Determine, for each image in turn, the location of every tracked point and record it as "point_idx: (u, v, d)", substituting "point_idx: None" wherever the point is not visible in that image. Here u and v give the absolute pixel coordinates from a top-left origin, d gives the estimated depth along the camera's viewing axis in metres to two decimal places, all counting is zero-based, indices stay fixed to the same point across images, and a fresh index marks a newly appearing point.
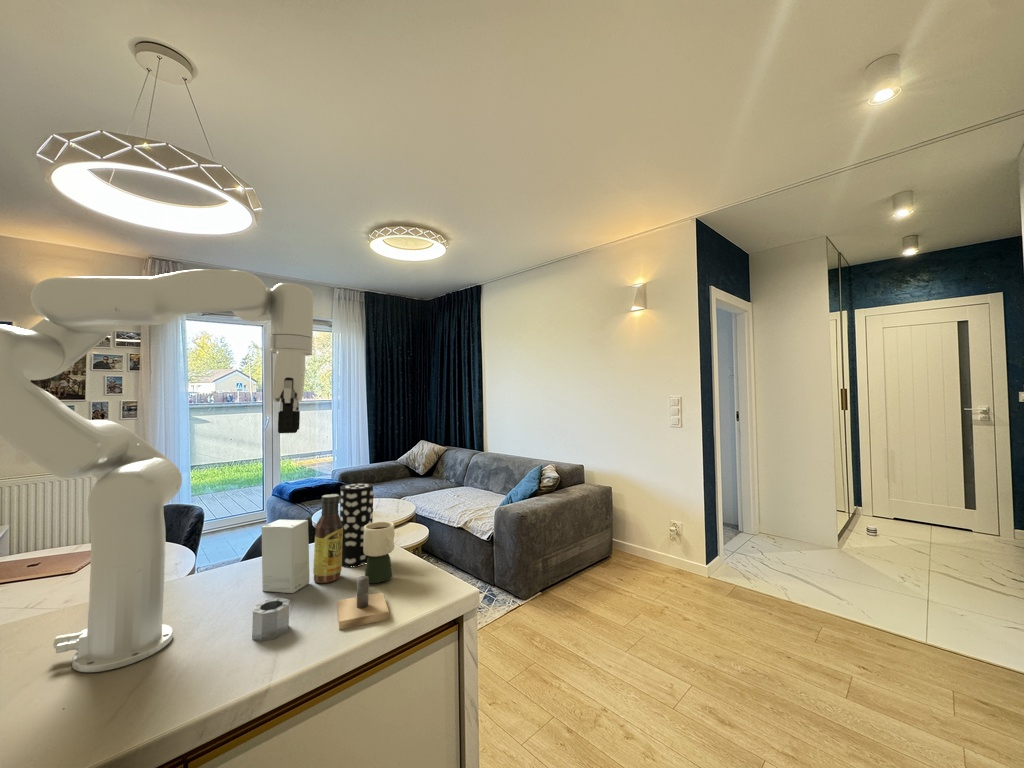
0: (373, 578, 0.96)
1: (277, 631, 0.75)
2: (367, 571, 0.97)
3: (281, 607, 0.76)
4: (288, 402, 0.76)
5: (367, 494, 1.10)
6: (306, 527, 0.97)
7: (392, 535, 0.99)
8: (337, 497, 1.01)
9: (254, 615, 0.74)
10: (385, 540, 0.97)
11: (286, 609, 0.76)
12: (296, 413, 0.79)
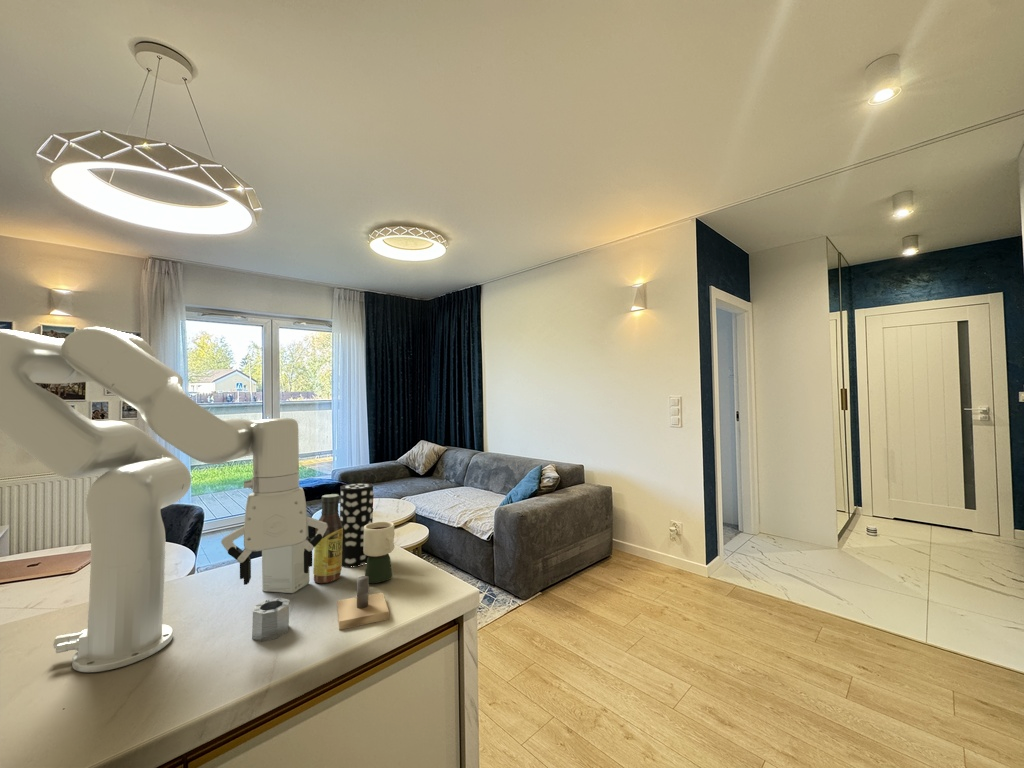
0: (373, 578, 0.96)
1: (277, 631, 0.75)
2: (367, 571, 0.97)
3: (281, 607, 0.76)
4: None
5: (367, 494, 1.10)
6: None
7: (392, 535, 0.99)
8: (337, 497, 1.01)
9: (254, 615, 0.74)
10: (385, 540, 0.97)
11: (286, 609, 0.76)
12: None
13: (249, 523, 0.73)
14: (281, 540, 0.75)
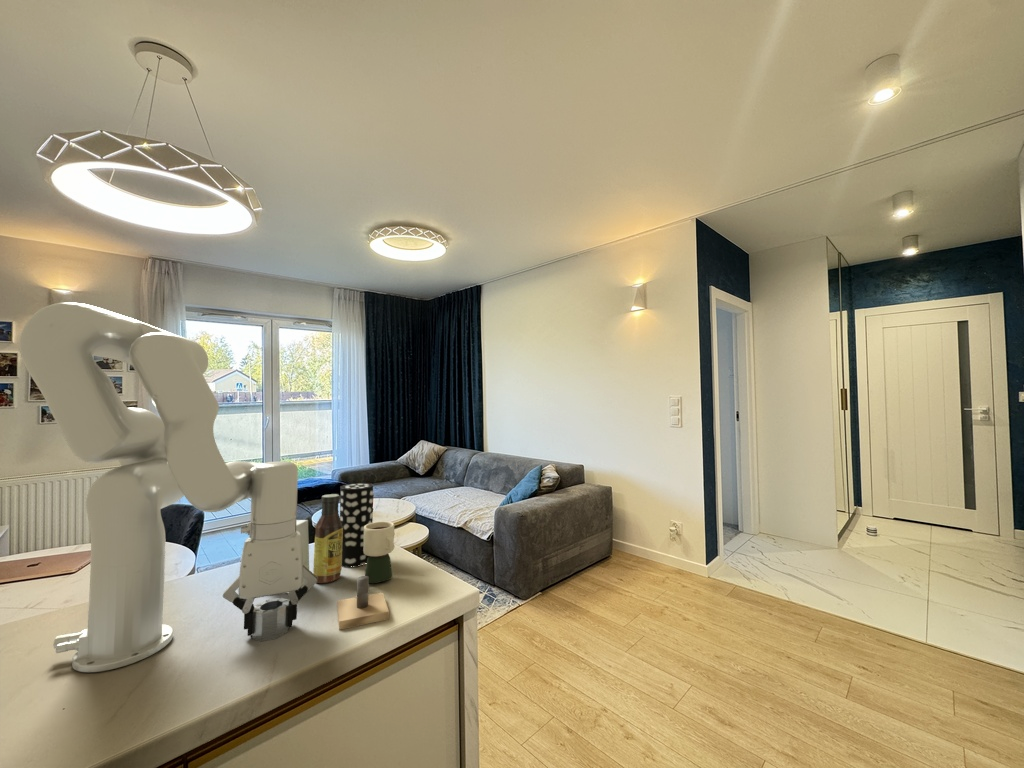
0: (373, 578, 0.96)
1: (277, 631, 0.75)
2: (367, 571, 0.97)
3: (281, 607, 0.76)
4: None
5: (367, 494, 1.10)
6: (306, 527, 0.97)
7: (392, 535, 0.99)
8: (337, 497, 1.01)
9: (254, 615, 0.74)
10: (385, 540, 0.97)
11: (286, 609, 0.76)
12: None
13: (244, 570, 0.73)
14: (276, 587, 0.75)
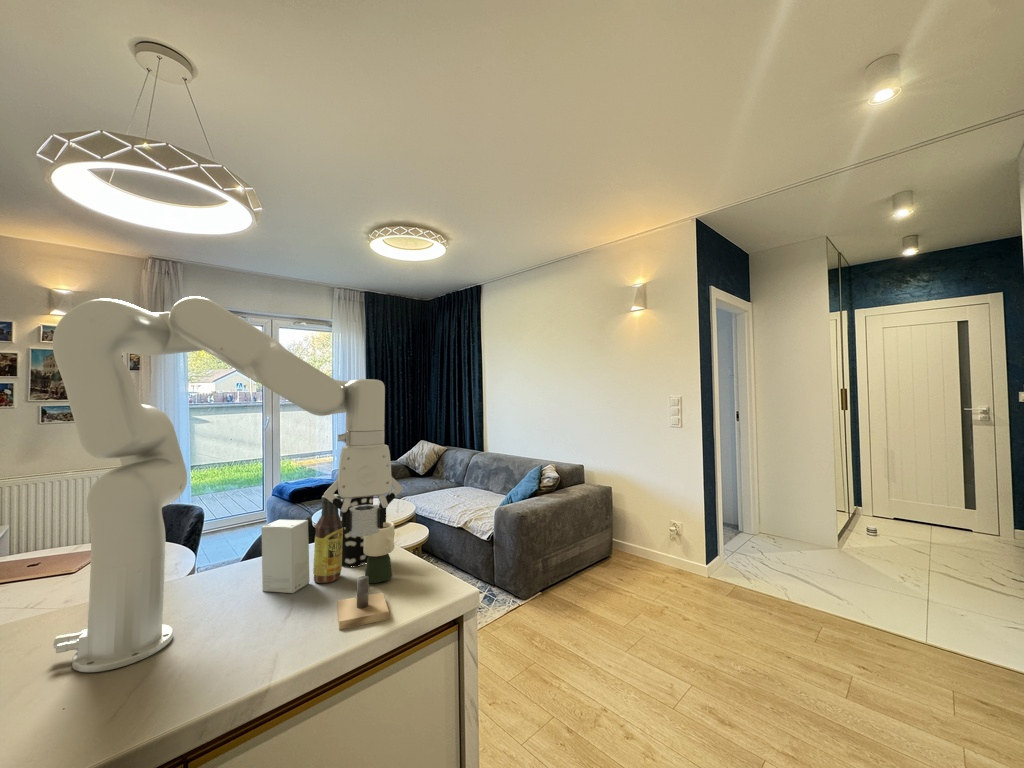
0: (373, 578, 0.96)
1: (372, 529, 0.82)
2: (367, 571, 0.97)
3: (374, 508, 0.83)
4: None
5: None
6: (306, 527, 0.97)
7: (392, 535, 0.99)
8: None
9: (351, 514, 0.82)
10: (385, 540, 0.97)
11: (378, 511, 0.84)
12: None
13: (344, 472, 0.81)
14: (370, 489, 0.82)
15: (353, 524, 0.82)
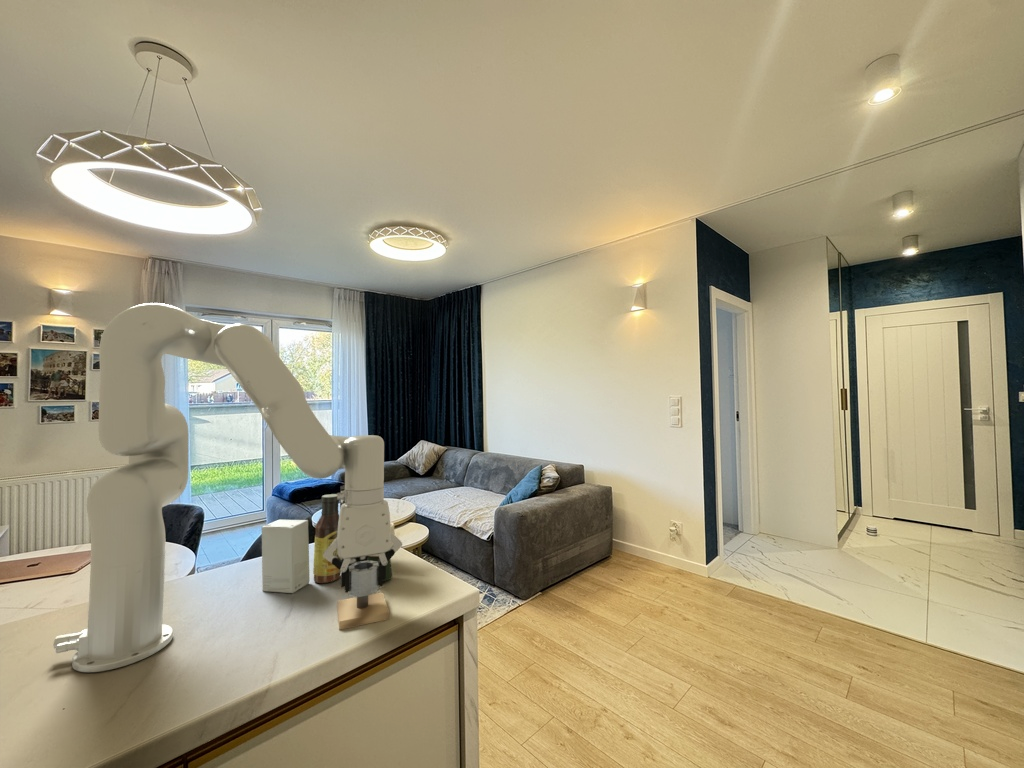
0: None
1: (371, 588, 0.82)
2: None
3: (373, 567, 0.83)
4: None
5: None
6: (306, 527, 0.97)
7: None
8: None
9: (350, 574, 0.81)
10: None
11: (377, 569, 0.83)
12: None
13: (343, 532, 0.80)
14: (370, 549, 0.82)
15: (352, 584, 0.81)
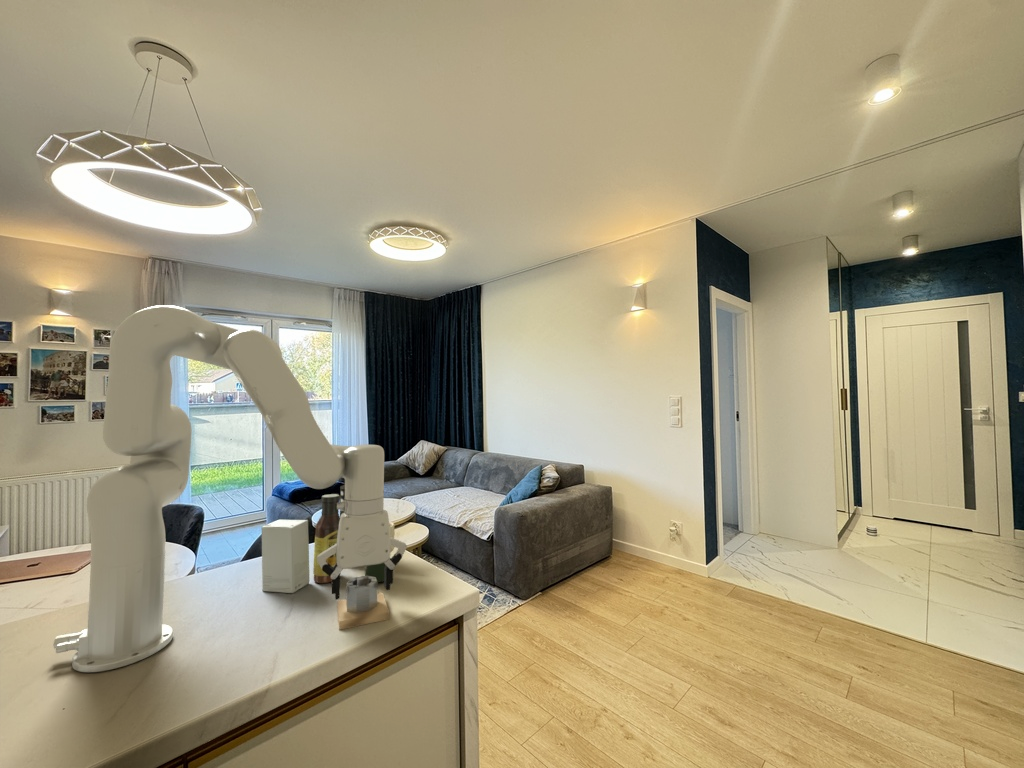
0: None
1: (369, 605, 0.81)
2: (367, 571, 0.97)
3: (371, 583, 0.83)
4: None
5: None
6: (306, 527, 0.97)
7: (392, 535, 0.99)
8: (337, 497, 1.01)
9: (348, 590, 0.81)
10: None
11: (375, 585, 0.83)
12: None
13: (342, 543, 0.80)
14: (369, 559, 0.82)
15: (350, 600, 0.81)
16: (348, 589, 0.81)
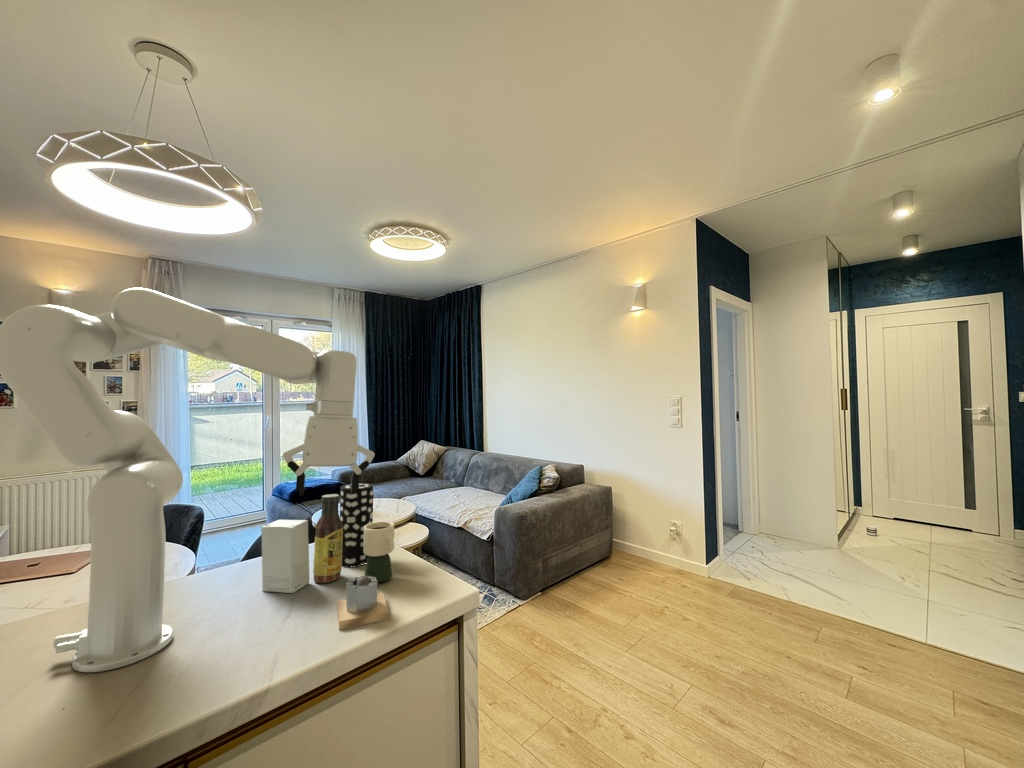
0: None
1: (369, 605, 0.81)
2: (367, 571, 0.97)
3: (371, 583, 0.83)
4: None
5: (367, 494, 1.10)
6: (306, 527, 0.97)
7: (392, 535, 0.99)
8: (337, 497, 1.01)
9: (348, 590, 0.81)
10: (385, 540, 0.97)
11: (375, 585, 0.83)
12: None
13: (309, 440, 0.81)
14: (335, 459, 0.83)
15: (350, 600, 0.81)
16: (348, 589, 0.81)
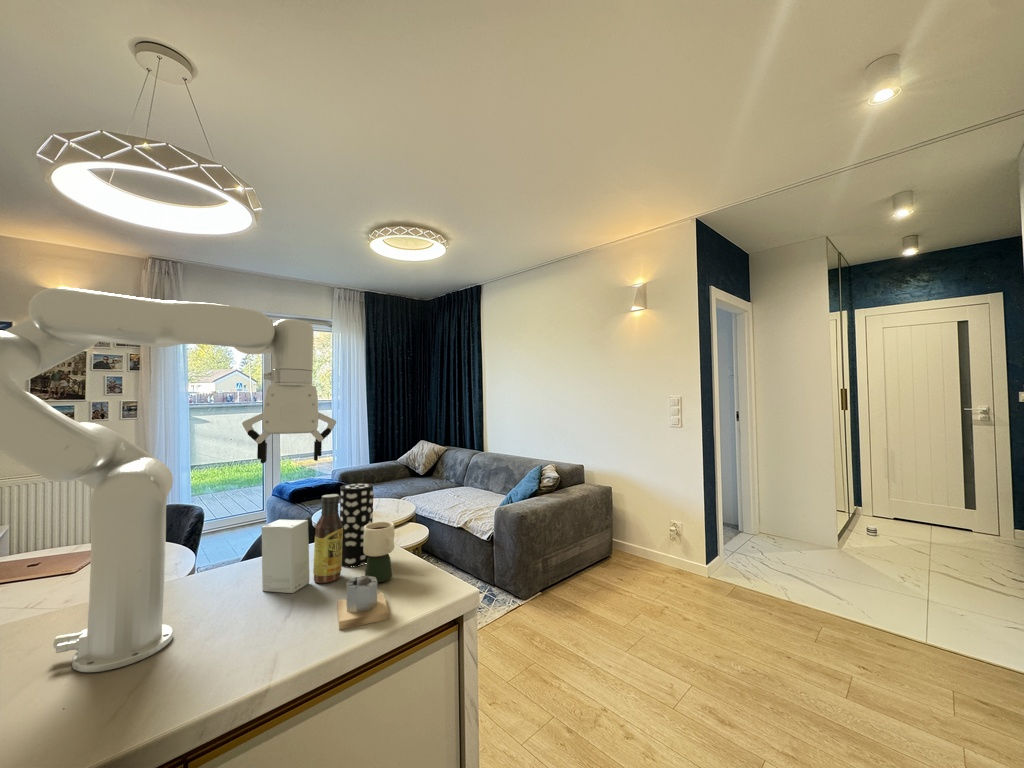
0: None
1: (369, 605, 0.81)
2: (367, 571, 0.97)
3: (371, 583, 0.83)
4: None
5: (367, 494, 1.10)
6: (306, 527, 0.97)
7: (392, 535, 0.99)
8: (337, 497, 1.01)
9: (348, 590, 0.81)
10: (385, 540, 0.97)
11: (375, 585, 0.83)
12: None
13: (267, 408, 0.82)
14: (295, 426, 0.84)
15: (350, 600, 0.81)
16: (348, 589, 0.81)
